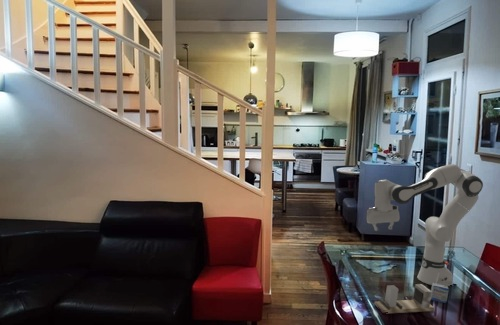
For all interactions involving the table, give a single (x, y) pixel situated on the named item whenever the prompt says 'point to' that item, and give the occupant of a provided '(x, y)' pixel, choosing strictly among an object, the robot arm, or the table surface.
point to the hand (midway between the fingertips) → (383, 229)
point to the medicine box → (439, 292)
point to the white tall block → (391, 295)
